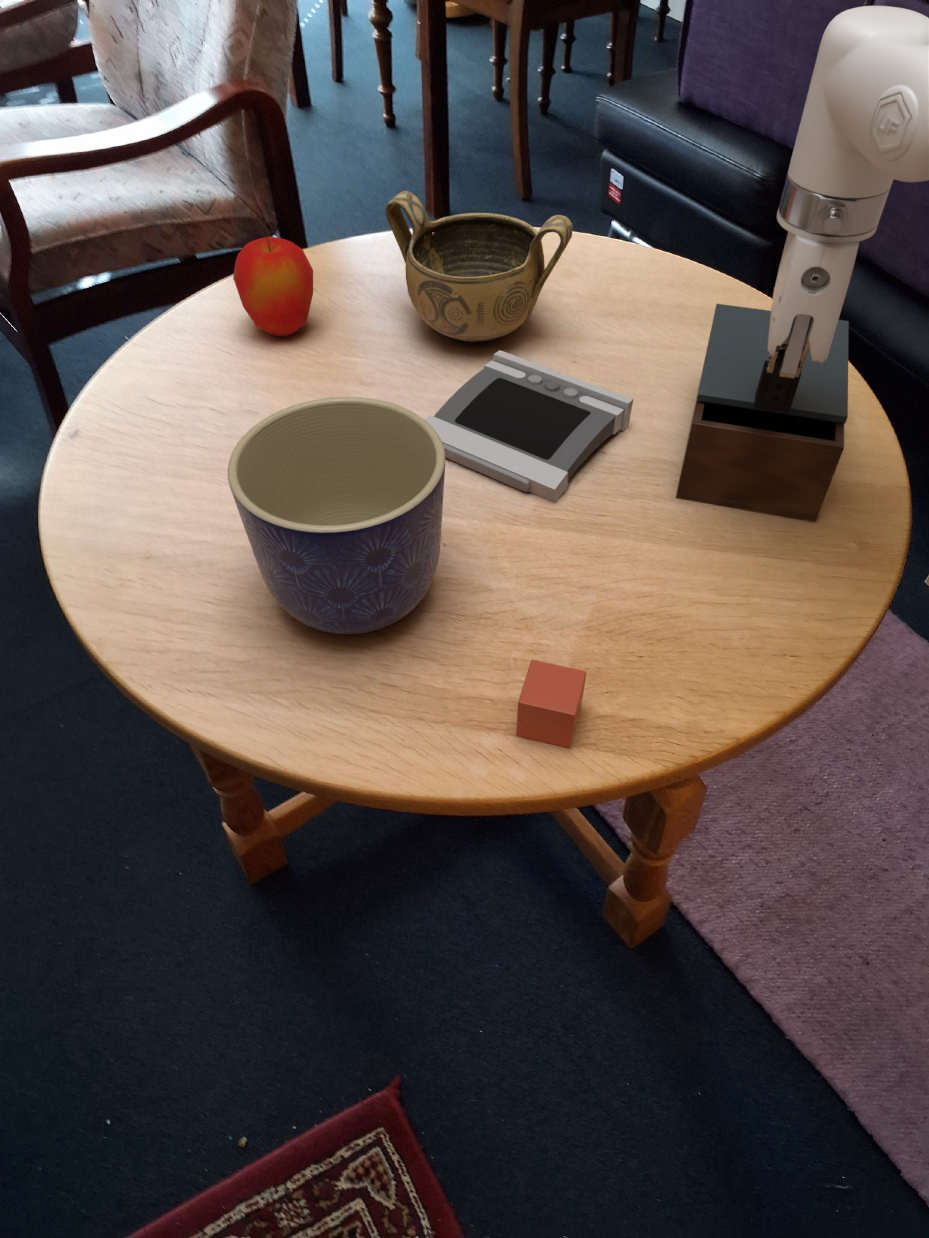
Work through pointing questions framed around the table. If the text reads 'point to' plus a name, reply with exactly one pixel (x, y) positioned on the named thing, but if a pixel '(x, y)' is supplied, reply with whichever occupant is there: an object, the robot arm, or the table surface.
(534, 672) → the block
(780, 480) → the box
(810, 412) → the lid
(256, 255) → the apple
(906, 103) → the robot arm
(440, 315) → the ceramic bowl
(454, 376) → the table surface
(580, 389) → the alarm clock
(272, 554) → the planter
